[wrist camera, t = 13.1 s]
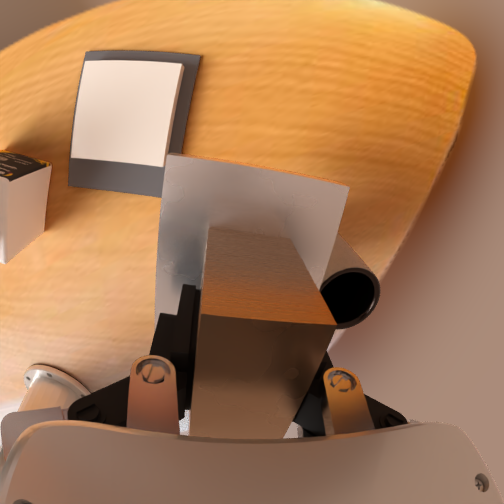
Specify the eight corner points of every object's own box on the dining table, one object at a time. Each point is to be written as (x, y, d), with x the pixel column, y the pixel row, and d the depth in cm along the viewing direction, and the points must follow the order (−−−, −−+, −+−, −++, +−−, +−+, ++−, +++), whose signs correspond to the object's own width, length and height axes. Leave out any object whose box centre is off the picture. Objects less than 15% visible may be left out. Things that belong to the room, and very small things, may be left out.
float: (277, 386, 17) (297, 478, 11) (157, 376, 15) (143, 472, 10) (342, 182, 12) (435, 241, 6) (170, 152, 11) (116, 187, 5)
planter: (279, 258, 27) (305, 331, 18) (285, 210, 25) (319, 266, 16) (326, 260, 28) (369, 328, 19) (335, 214, 26) (389, 268, 17)
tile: (162, 167, 21) (181, 63, 18) (70, 157, 20) (85, 61, 17) (166, 164, 23) (184, 67, 19) (79, 154, 21) (93, 63, 18)
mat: (174, 198, 24) (173, 199, 24) (69, 185, 23) (68, 186, 22) (200, 56, 19) (200, 55, 19) (87, 52, 18) (85, 51, 18)
